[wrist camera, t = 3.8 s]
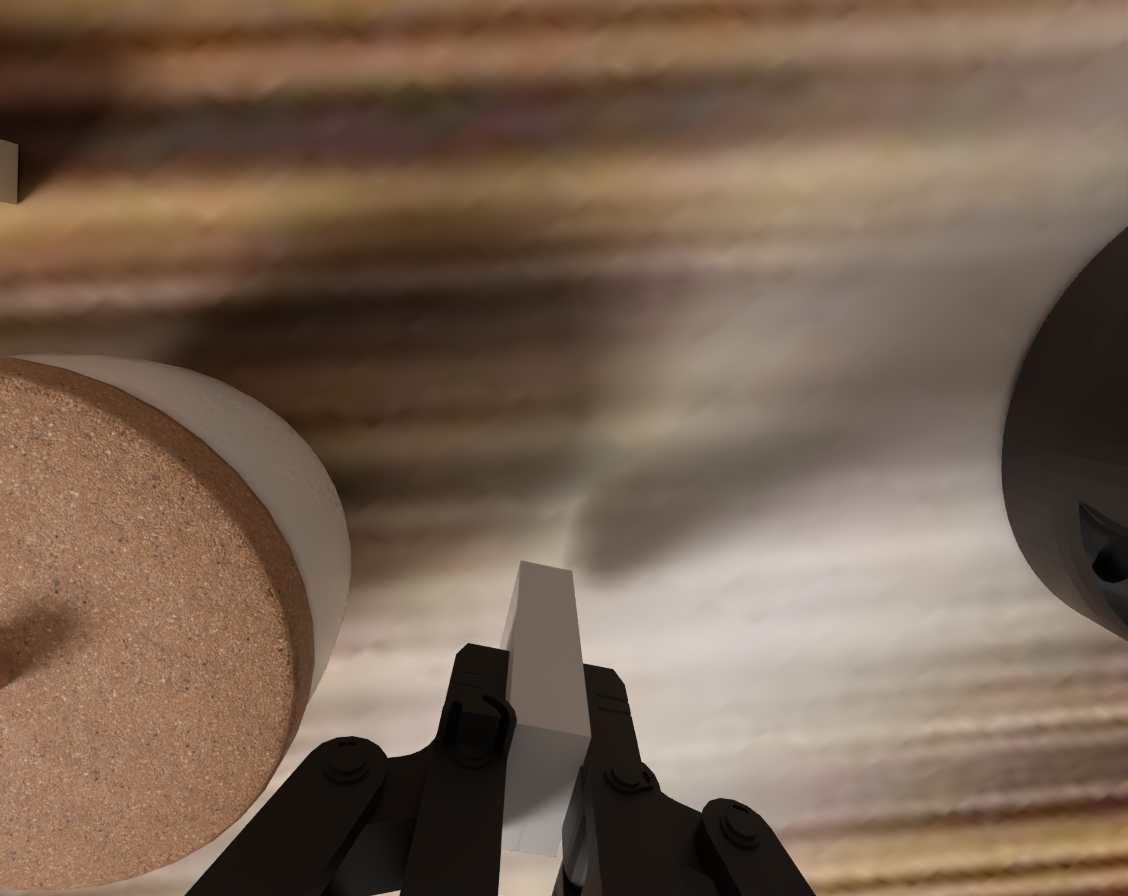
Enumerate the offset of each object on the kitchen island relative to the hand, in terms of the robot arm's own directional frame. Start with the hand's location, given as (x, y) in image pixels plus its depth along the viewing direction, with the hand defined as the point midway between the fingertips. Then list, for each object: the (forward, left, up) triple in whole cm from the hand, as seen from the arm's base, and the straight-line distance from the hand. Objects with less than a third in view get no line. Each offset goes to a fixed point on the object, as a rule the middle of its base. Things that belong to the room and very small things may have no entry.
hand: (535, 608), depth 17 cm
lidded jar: (+10, 0, -2) cm, 10 cm away
